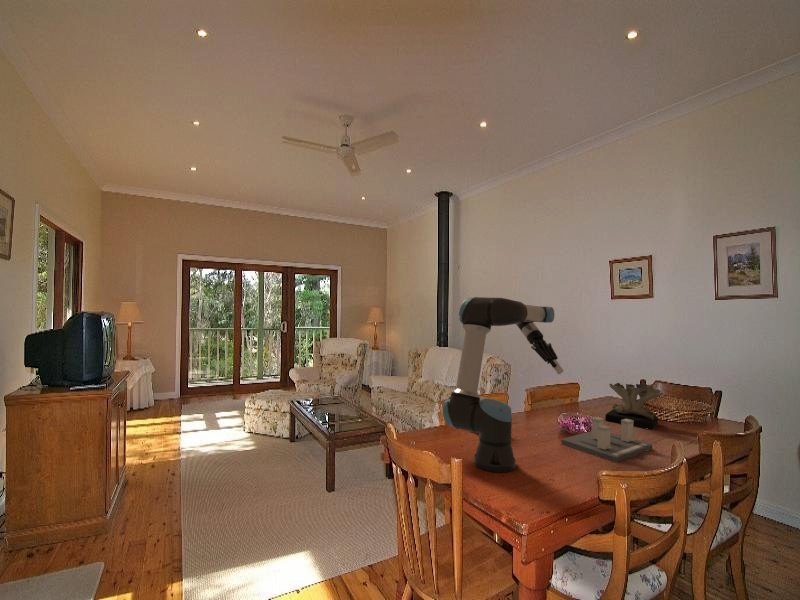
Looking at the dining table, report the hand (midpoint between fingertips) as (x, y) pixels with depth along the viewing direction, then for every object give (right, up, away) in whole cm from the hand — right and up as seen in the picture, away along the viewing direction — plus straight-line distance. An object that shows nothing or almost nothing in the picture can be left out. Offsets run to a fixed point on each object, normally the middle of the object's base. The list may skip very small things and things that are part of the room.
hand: (561, 372), depth 190 cm
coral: (+44, -30, +18) cm, 56 cm away
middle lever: (+11, -27, -12) cm, 31 cm away
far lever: (+23, -27, -14) cm, 38 cm away
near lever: (+8, -26, -24) cm, 36 cm away
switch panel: (+13, -29, -15) cm, 35 cm away
